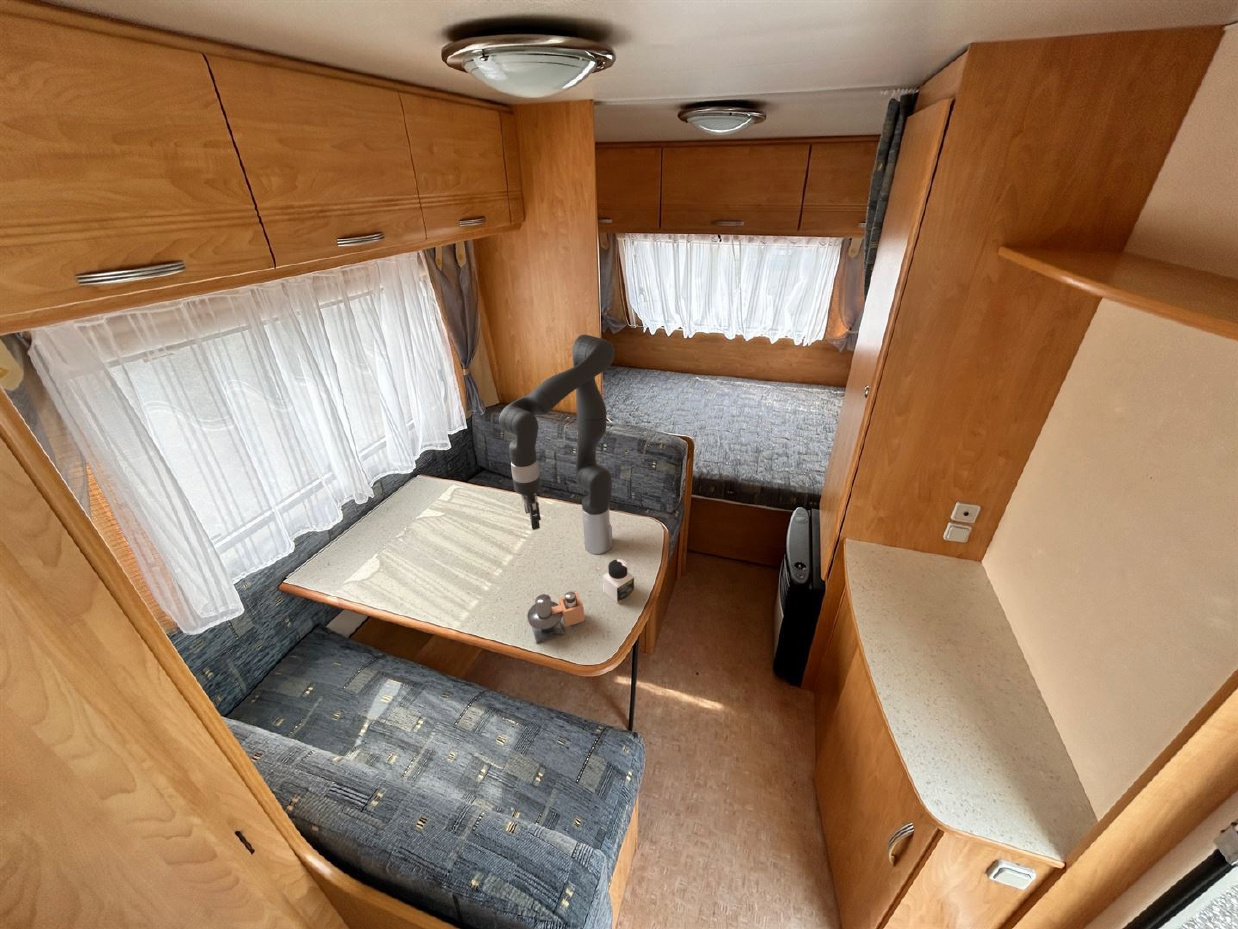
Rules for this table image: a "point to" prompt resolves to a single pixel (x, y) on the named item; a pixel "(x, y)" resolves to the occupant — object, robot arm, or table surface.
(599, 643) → the table surface
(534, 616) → the grey ball joystick
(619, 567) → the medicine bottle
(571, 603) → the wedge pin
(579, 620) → the bracket
